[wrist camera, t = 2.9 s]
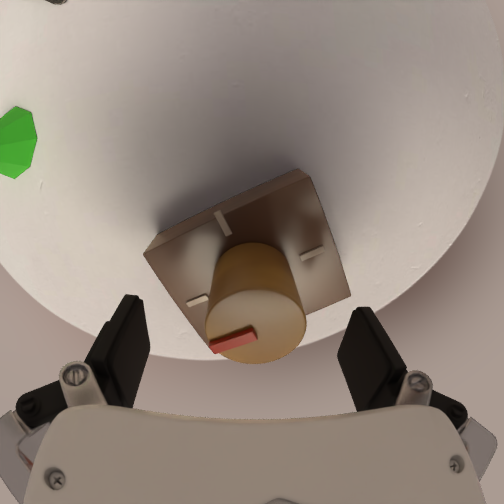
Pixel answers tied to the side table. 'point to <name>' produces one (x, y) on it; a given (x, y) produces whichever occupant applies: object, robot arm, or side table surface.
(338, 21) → the side table surface
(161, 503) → the robot arm
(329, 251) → the panel
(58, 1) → the strap clip
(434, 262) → the side table surface
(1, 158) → the gemstone
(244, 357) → the knob
